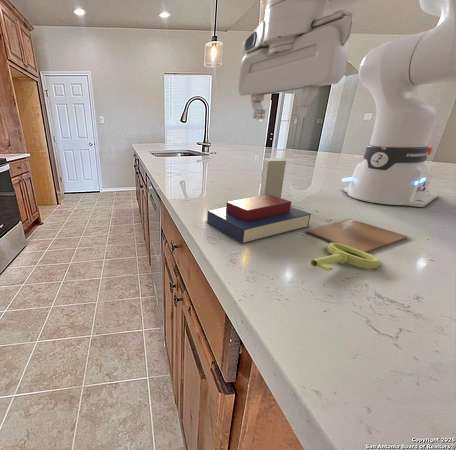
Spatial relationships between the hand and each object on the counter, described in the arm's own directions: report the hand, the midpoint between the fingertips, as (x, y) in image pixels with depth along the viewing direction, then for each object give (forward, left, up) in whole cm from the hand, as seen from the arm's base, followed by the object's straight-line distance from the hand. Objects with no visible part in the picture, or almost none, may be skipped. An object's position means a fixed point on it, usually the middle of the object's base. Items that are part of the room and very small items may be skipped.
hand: (276, 118), depth 47 cm
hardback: (+2, 0, -22) cm, 22 cm away
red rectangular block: (+2, 0, -19) cm, 19 cm away
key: (+1, +18, -22) cm, 29 cm away
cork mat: (-11, +13, -22) cm, 28 cm away
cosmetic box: (-12, -10, -22) cm, 27 cm away
